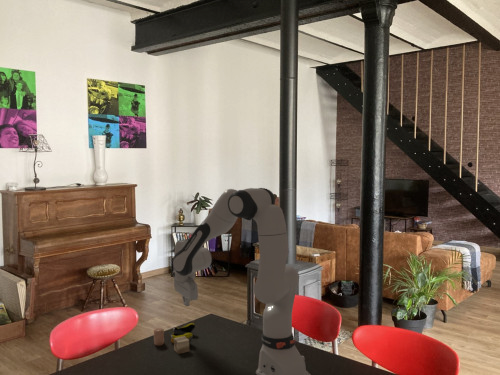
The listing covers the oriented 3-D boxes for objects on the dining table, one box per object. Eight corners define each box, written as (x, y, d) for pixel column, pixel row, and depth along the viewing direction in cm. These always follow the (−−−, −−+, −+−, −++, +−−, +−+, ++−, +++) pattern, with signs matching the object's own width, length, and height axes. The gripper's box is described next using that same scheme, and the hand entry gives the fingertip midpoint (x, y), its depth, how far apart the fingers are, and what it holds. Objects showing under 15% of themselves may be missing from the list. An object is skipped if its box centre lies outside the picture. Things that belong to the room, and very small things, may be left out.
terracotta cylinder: (165, 344, 203) (165, 330, 202) (155, 346, 201) (155, 332, 200) (162, 340, 207) (162, 327, 206) (152, 342, 204) (152, 329, 204)
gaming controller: (195, 333, 215) (174, 333, 215) (195, 321, 215) (174, 322, 215) (192, 346, 200) (169, 346, 200) (192, 334, 200) (169, 334, 200)
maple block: (189, 351, 195) (189, 340, 195) (178, 354, 193) (177, 342, 192) (185, 347, 199) (184, 336, 199) (174, 349, 197) (173, 338, 197)
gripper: (201, 278, 198) (202, 310, 199) (184, 269, 216) (185, 298, 217) (187, 280, 195) (188, 312, 196) (171, 271, 213) (172, 300, 214)
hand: (186, 305), depth 206 cm, fingers closed
